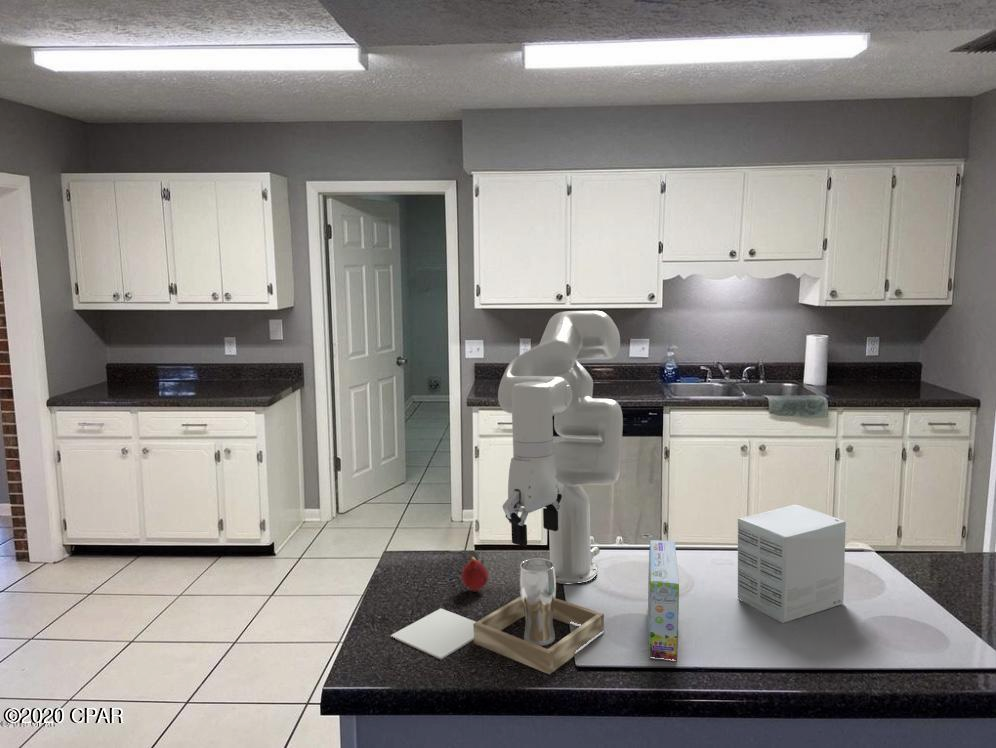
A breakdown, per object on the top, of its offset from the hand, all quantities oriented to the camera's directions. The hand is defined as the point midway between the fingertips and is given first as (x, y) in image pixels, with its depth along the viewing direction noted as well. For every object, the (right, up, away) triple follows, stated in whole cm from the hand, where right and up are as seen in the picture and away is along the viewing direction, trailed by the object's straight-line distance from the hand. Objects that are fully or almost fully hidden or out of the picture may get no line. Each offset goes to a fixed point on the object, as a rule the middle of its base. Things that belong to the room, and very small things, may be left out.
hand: (535, 536), depth 135 cm
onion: (-12, -18, +25) cm, 33 cm away
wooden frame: (+1, -20, +3) cm, 21 cm away
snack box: (+25, -20, +4) cm, 32 cm away
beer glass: (+1, -21, +3) cm, 21 cm away
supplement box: (+54, -17, +14) cm, 58 cm away
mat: (-18, -21, +7) cm, 29 cm away
